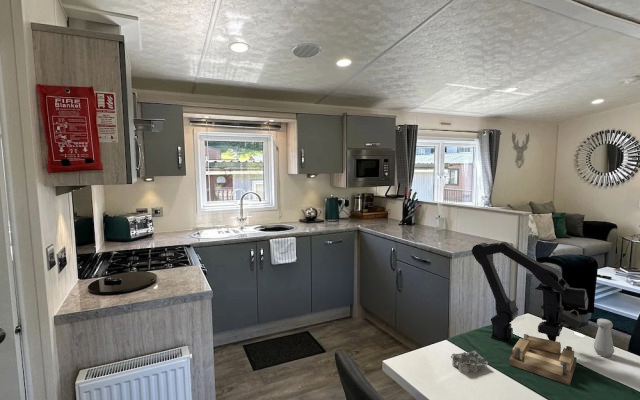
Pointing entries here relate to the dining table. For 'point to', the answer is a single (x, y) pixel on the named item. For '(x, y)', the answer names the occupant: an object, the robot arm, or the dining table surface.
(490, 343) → the dining table surface
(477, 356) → the grey jagged rock
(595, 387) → the dining table surface
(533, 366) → the wooden slat frame
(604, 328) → the salt shaker
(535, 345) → the hinged leg
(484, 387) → the dining table surface
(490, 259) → the robot arm
